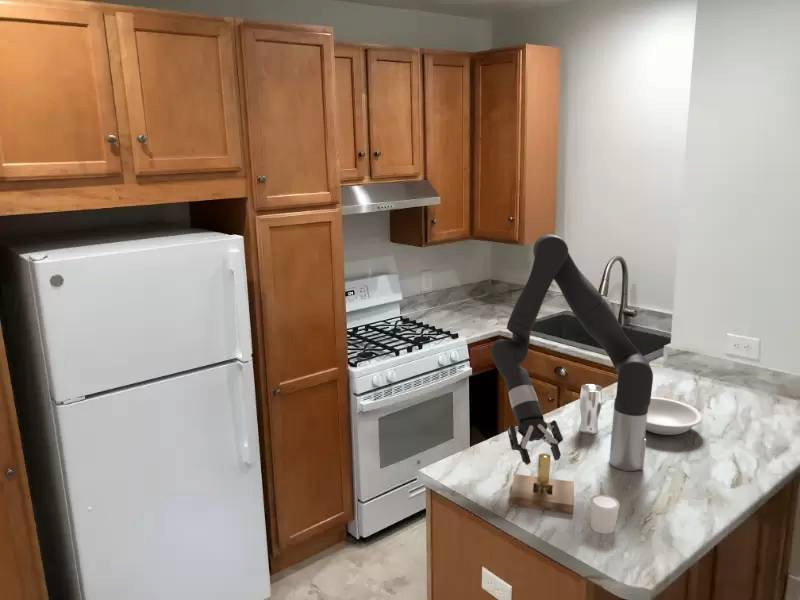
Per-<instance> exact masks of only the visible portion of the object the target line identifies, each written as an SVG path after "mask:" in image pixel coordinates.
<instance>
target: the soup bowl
mask: <svg viewBox="0 0 800 600" xmlns="http://www.w3.org/2000/svg"><path fill="white" fill-rule="evenodd" d="M702 421H703V415H702V413H701V412H700V411H699V410H697V409H696V408H695V407H693V406H691V405H689V404H687V403H684V402H682V401H677V400H675V399H670V398H666V397H665V398H664V397H656V396H651V400H650V405H649V407H648V415H647V425H646V432H650V433H654V434H657V435H661V436H662V435H663V436H664V435H665V436H673V435H674V436H676V435H680V434H684V433H686V432H687V431H689V430H691V429H692V428H693V427H694V426H697V425H699V424H701V422H702Z"/></svg>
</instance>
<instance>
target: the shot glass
mask: <svg viewBox="0 0 800 600" xmlns="http://www.w3.org/2000/svg"><path fill="white" fill-rule="evenodd" d="M589 500H590V501H589V503H590V504H589V507H590V509H589V510H590V512H589V513H590V527H591V528H592V530H594V531H596V532H597V533H600V534H603V535H604V534H606V535H608V534H612V533H614V531H615V529H616V524H617V519H618V514H619V509H620V502H619V500H617V498H615V497H613V496H610V495H606V494H594V495H592V496H591V497H590V499H589Z"/></svg>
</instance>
